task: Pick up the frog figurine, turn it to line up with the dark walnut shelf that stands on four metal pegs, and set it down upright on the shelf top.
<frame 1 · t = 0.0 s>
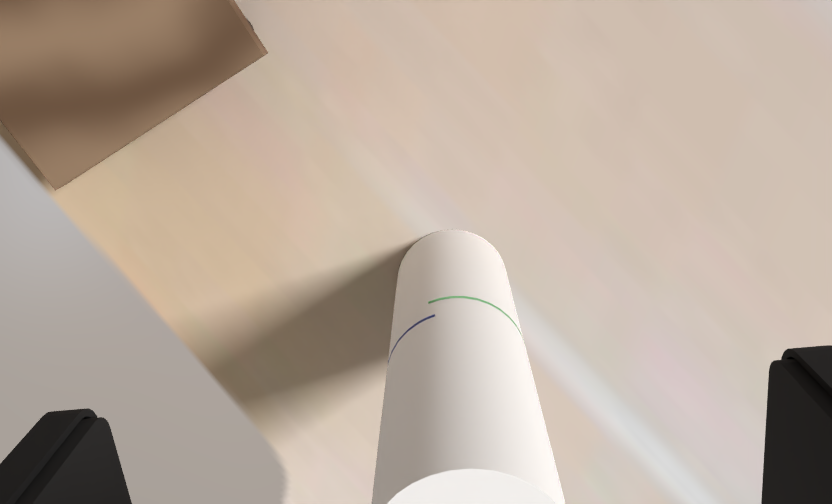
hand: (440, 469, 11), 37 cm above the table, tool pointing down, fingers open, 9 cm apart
cylindrical container: (451, 280, 49), on the table
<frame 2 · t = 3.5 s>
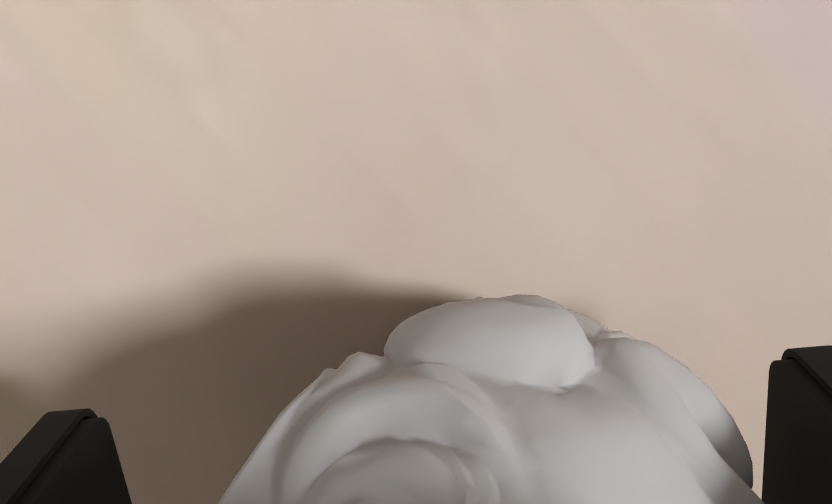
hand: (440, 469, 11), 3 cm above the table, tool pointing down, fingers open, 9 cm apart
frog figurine: (486, 379, 13), on the table
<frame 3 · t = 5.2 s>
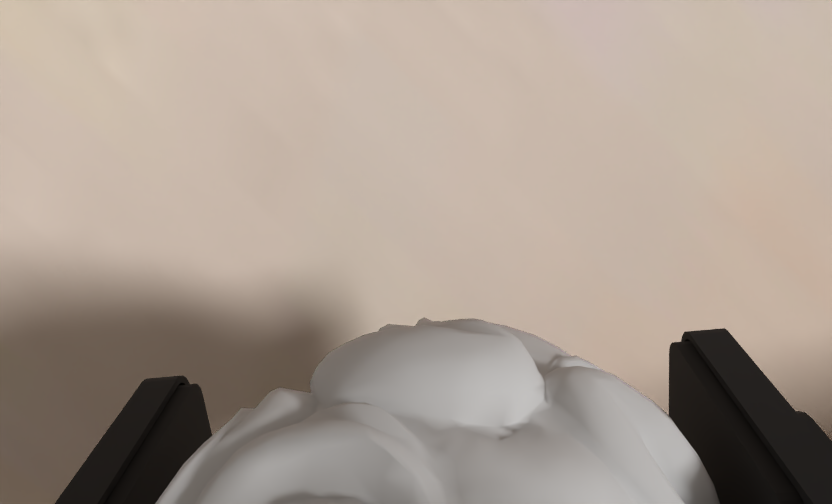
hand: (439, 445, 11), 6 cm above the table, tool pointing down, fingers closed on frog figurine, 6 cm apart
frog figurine: (438, 401, 12), point 4 cm above the table, touching gripper
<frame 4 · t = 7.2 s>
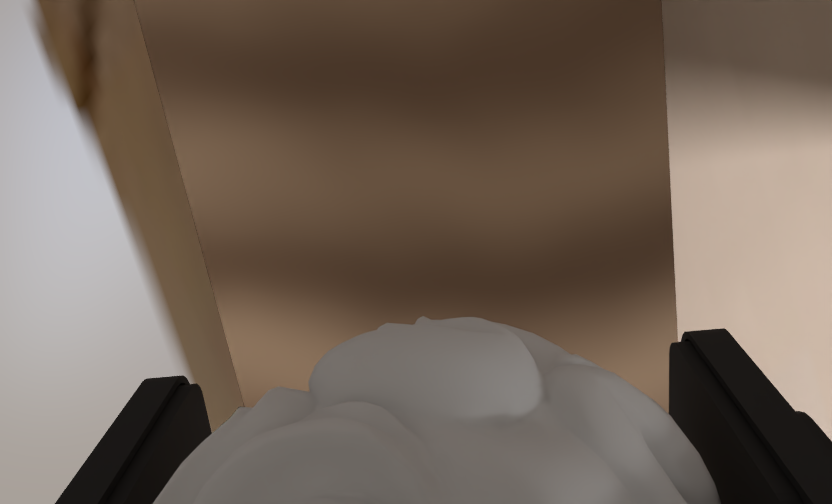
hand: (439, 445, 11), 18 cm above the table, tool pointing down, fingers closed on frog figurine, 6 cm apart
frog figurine: (437, 400, 12), point 17 cm above the table, touching gripper
walnut shelf: (437, 208, 28), on the table
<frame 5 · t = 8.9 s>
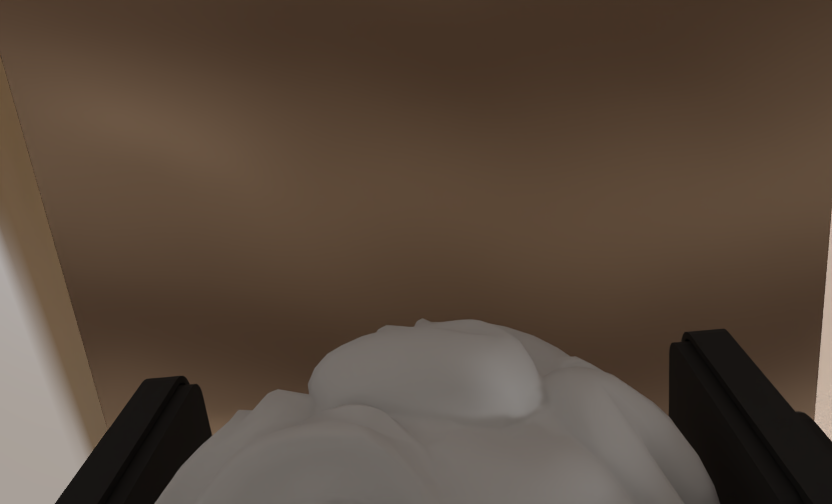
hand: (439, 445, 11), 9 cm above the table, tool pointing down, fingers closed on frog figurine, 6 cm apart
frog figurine: (436, 402, 12), point 8 cm above the table, touching gripper
walnut shelf: (443, 237, 20), on the table
when the fingers open (8 cm above the table, at t = 10.1 s): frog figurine drops 1 cm, resting on walnut shelf.
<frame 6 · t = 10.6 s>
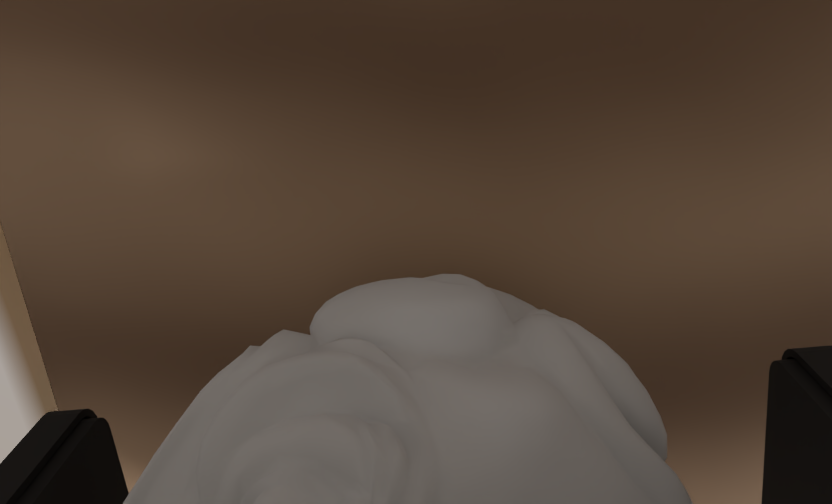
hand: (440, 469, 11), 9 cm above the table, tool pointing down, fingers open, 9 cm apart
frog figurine: (426, 361, 14), point 6 cm above the table, touching walnut shelf
walnut shelf: (436, 253, 19), on the table
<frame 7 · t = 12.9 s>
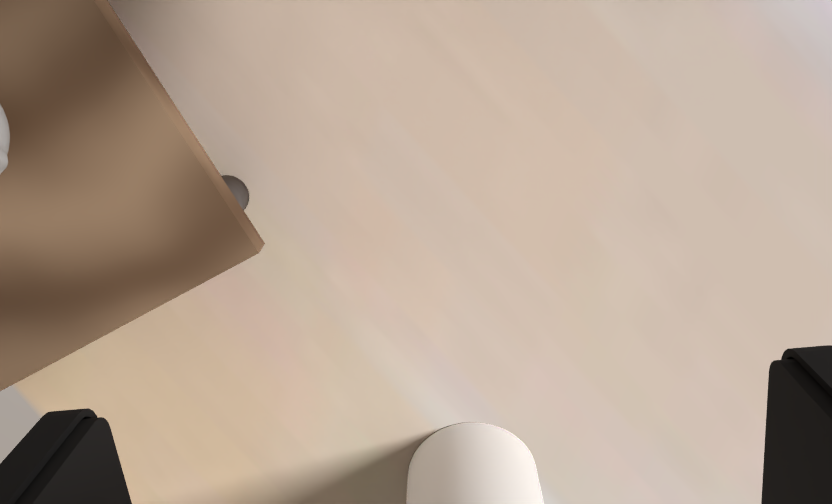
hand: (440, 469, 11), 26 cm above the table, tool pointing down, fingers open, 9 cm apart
walnut shelf: (43, 98, 35), on the table
cylindrical container: (472, 475, 42), on the table
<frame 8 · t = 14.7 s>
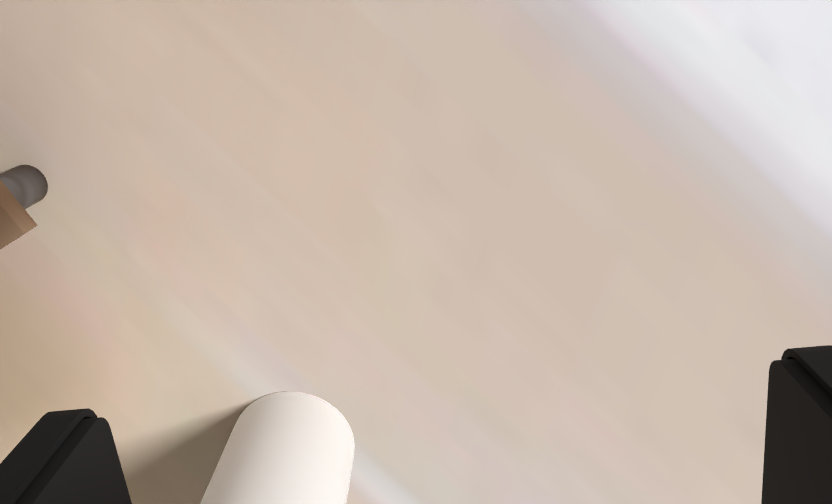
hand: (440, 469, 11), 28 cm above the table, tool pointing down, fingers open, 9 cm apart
cylindrical container: (294, 443, 44), on the table
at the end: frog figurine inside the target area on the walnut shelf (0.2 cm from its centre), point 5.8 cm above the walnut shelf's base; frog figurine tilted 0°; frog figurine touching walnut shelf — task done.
